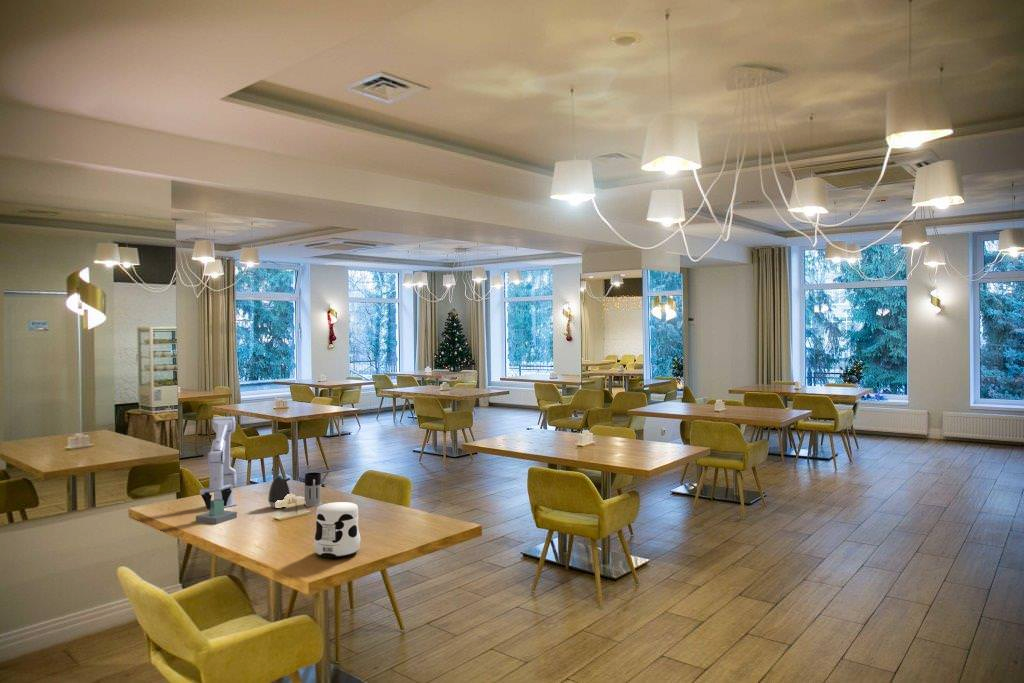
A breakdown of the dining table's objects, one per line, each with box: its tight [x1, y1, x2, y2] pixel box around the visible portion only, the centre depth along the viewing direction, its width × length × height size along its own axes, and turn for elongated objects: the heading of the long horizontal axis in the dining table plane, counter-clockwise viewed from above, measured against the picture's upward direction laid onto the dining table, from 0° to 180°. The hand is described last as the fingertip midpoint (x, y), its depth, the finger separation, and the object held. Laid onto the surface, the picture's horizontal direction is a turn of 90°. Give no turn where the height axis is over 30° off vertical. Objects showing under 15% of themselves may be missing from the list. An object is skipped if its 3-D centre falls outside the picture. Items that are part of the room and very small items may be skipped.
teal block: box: [208, 499, 225, 516], centre depth 309 cm, size 4×4×6 cm
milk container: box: [313, 501, 362, 559], centre depth 261 cm, size 17×17×18 cm
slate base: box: [195, 509, 238, 525], centre depth 309 cm, size 12×12×2 cm
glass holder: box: [304, 471, 323, 508], centre depth 334 cm, size 9×14×15 cm, turn 20°
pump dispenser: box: [268, 475, 291, 509], centre depth 331 cm, size 10×10×15 cm
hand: (216, 507), depth 309 cm, fingers open, 7 cm apart
